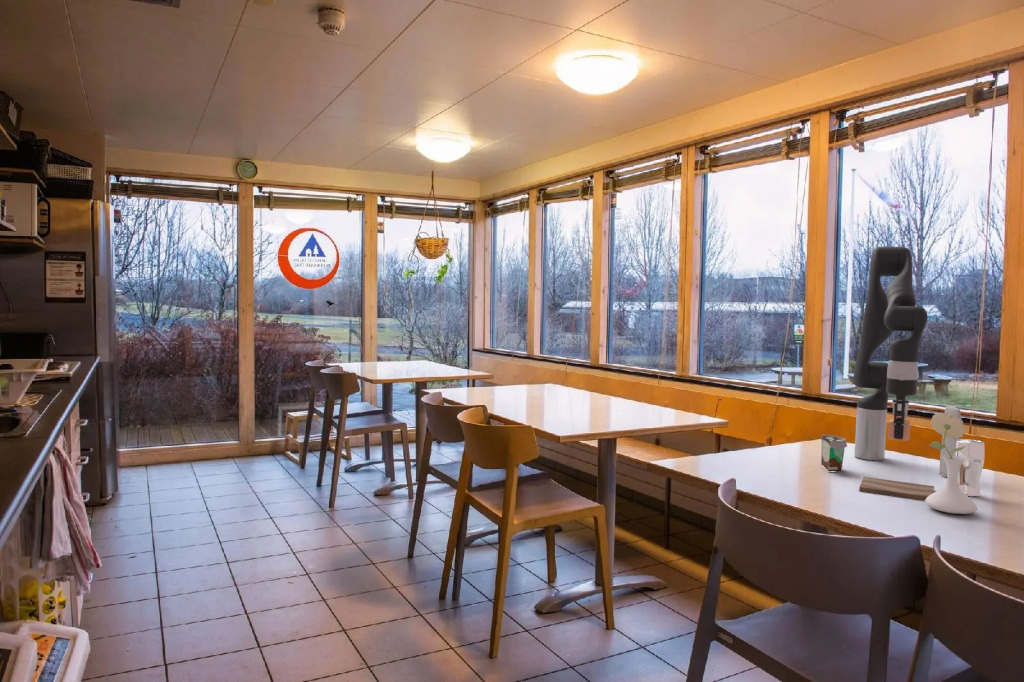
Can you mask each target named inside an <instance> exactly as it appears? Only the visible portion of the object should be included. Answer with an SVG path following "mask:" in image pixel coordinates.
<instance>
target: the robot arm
mask: <svg viewBox="0 0 1024 682" xmlns="http://www.w3.org/2000/svg"><path fill="white" fill-rule="evenodd" d="M882 277H894V279H893V280H892V281H890V283H889V284H888V286H887V288H886V290H884V288H883V285H882V282H881V278H882ZM913 288H914V287H913V258H912V253H911V250H910V249H909V248H908V247H904V246H876V247H874V248H873V250H872V252H871V256H870V263H869V276H868V289H867V295H866V301H865V306H864V311H863V317H862V325H861V333H860V334H861V335H860V341H859V348H858V353H857V358H856V359H855V360H856V361H855V365H854V371H853V383H854V386H856V387H857V388H861V389H862V388H863V389H874V390H875V392H874V393H872V394H871V395H867V396H865V397H861V398H858V399H857V401H856V405H857V406H856V421H855V422H856V423H855V439H854V440H855V441H854V454H853V455H854V457H855V458H858V459H862V460H868V461H883V460H885V456H886V454H885V453H886V440H887V439H886V435H887V422H888V421H887V418H888V417H887V416H888V401H889V394H890V395H895V399H893V400H892V417H893V419H894V420H893V422H894V438H895V439H903V428H904V425H905V422H904V420H906V419H907V417H908V411H909V410H908V408H909V405H910V401H909V400H907V396H915V395H917V394H918V393H917V392H918V379H919V378H918V376H919V375H918V374H919V367H918V365H919V364H918V359H919V358H918V355H919V346H920V342H921V339H922V338H921V337H922V335H923V332H924V331H925V328H926V325H927V322H928V319H929V318H928V317H929V316H928V313H927V311H926V309H925V308H924V307H922V306H918V305H917V306H916V304H917V300H916V296H915V292H914V289H913ZM893 332H910V334H909V335H908V336H907V337H904V338H899V339H893V340H891V341H890V343H889V349H888V351H889V352H888V355H889V356H888V362H886V361H870V359H871V357H872V355H873V354H874V353H875V351H876V350H877V349H879V347H880V346H881V345H883V344H884V343H885V341H887V340H888V339H889V338H890V336H891V335H892V333H893Z"/></svg>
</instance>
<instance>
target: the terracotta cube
mask: <svg viewBox="0 0 1024 682" xmlns="http://www.w3.org/2000/svg"><path fill="white" fill-rule="evenodd" d="M893 420H894V418H890V419H889V421H888V431H887V432H888V435H887V439H888V440H895V441H903V442H904V441H905V442H909V440H910V431H911V429H910V428H911V427H910V426H911V420H907V419H905V420H904V422H905V425H904V428H903V439H895V438H894V422H893Z"/></svg>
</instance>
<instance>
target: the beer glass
mask: <svg viewBox="0 0 1024 682" xmlns="http://www.w3.org/2000/svg"><path fill="white" fill-rule="evenodd" d="M964 446H965V447H964ZM960 447H964V448H963V449H962V450H960V451H957V452H955V457H961V458H964V459H965V461H964V462H963V463H962V464H961V466H960V468H959V472H958V487H959V489H960V490H961V491H962V492H963V493H964V494H965V495H967V496H979V497H981V491H980V479H981V476H982V473H983V468H984V464H985V455H986V454H985V442H984V441H982V440H977V439H967V438H960V439H957V441H956V447H955V449H956V448H960Z"/></svg>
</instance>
